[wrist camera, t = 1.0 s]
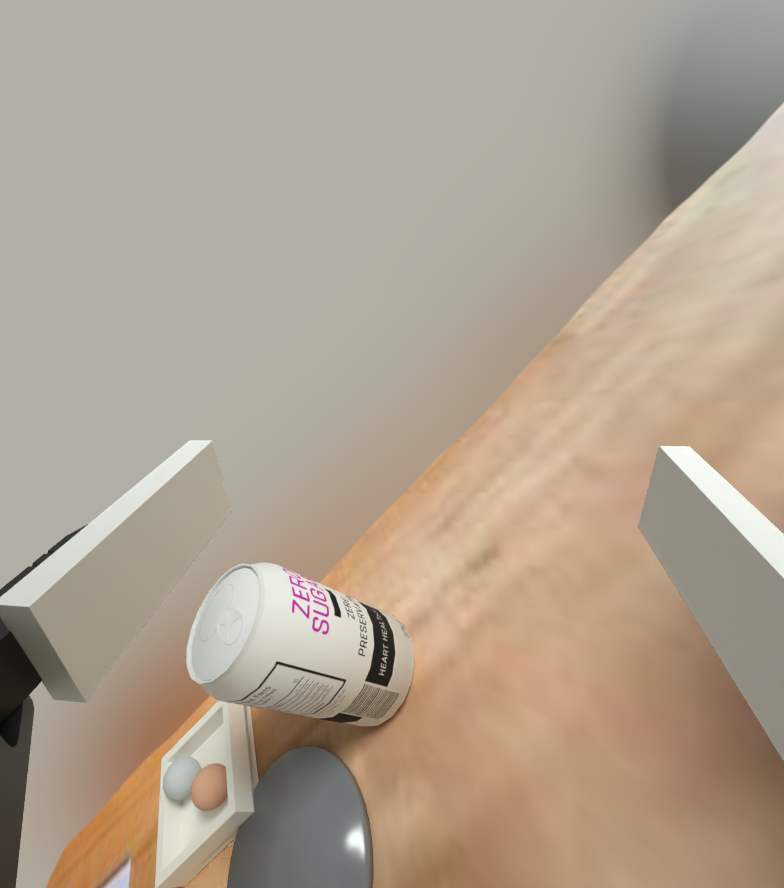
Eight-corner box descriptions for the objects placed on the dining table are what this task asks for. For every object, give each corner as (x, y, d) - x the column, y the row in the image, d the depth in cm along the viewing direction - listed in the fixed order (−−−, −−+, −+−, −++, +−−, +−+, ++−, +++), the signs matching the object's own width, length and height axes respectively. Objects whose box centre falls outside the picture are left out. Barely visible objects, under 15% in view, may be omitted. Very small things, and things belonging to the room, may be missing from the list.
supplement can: (328, 695, 37) (166, 658, 28) (369, 602, 39) (232, 541, 30) (391, 751, 31) (209, 727, 22) (435, 637, 33) (287, 573, 24)
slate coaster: (337, 708, 36) (331, 706, 35) (405, 944, 24) (396, 947, 24) (228, 814, 37) (220, 814, 36) (245, 1083, 26) (233, 1088, 25)
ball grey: (208, 750, 42) (177, 747, 40) (209, 786, 39) (176, 785, 37) (187, 771, 42) (155, 769, 40) (186, 808, 39) (153, 808, 37)
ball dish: (249, 696, 43) (227, 692, 41) (262, 811, 35) (235, 811, 33) (185, 760, 44) (161, 758, 42) (184, 886, 36) (154, 889, 34)
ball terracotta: (237, 756, 39) (206, 753, 37) (240, 796, 36) (207, 795, 34) (214, 778, 39) (182, 777, 37) (216, 819, 36) (182, 820, 35)
